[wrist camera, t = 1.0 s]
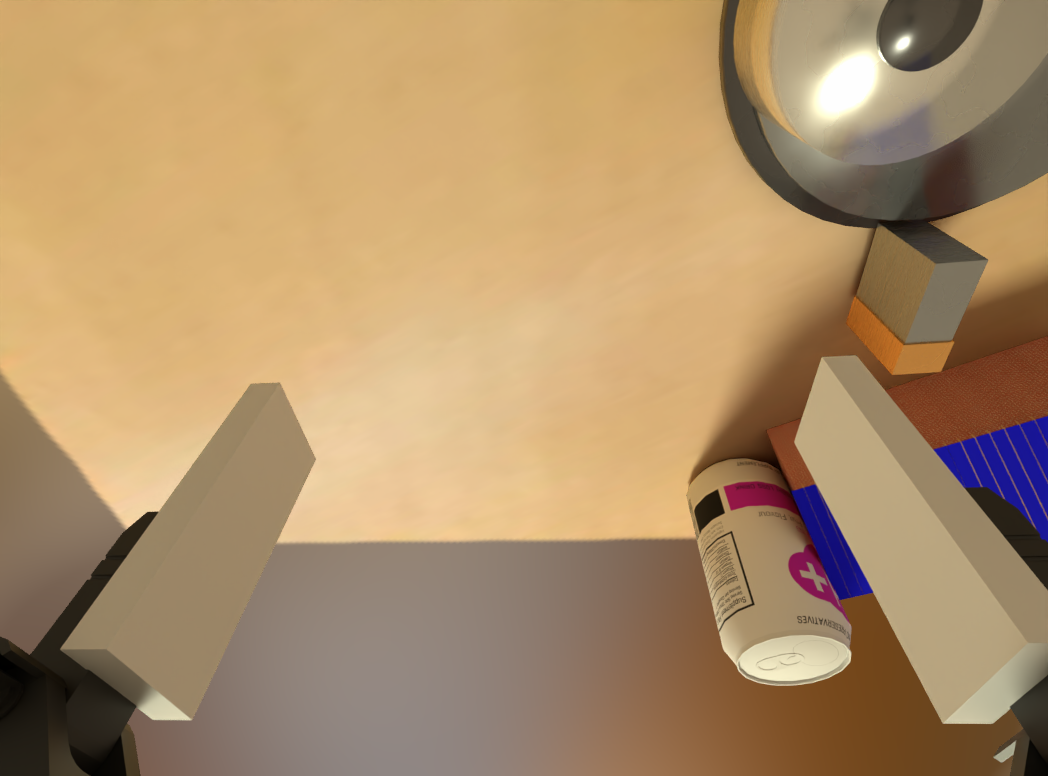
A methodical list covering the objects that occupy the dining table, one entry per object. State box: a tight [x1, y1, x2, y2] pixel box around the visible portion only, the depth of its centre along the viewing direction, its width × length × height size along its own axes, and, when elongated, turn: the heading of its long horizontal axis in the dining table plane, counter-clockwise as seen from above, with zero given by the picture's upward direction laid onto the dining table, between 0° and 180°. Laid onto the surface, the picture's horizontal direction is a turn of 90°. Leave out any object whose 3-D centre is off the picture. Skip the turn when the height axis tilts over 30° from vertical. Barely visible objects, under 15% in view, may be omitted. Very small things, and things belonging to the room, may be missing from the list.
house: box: [766, 336, 1048, 600], centre depth 37 cm, size 12×20×12 cm, turn 119°
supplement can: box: [686, 458, 851, 685], centre depth 40 cm, size 8×8×15 cm
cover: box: [733, 0, 1048, 165], centre depth 21 cm, size 10×10×6 cm
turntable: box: [752, 53, 1048, 375], centre depth 24 cm, size 27×20×6 cm
